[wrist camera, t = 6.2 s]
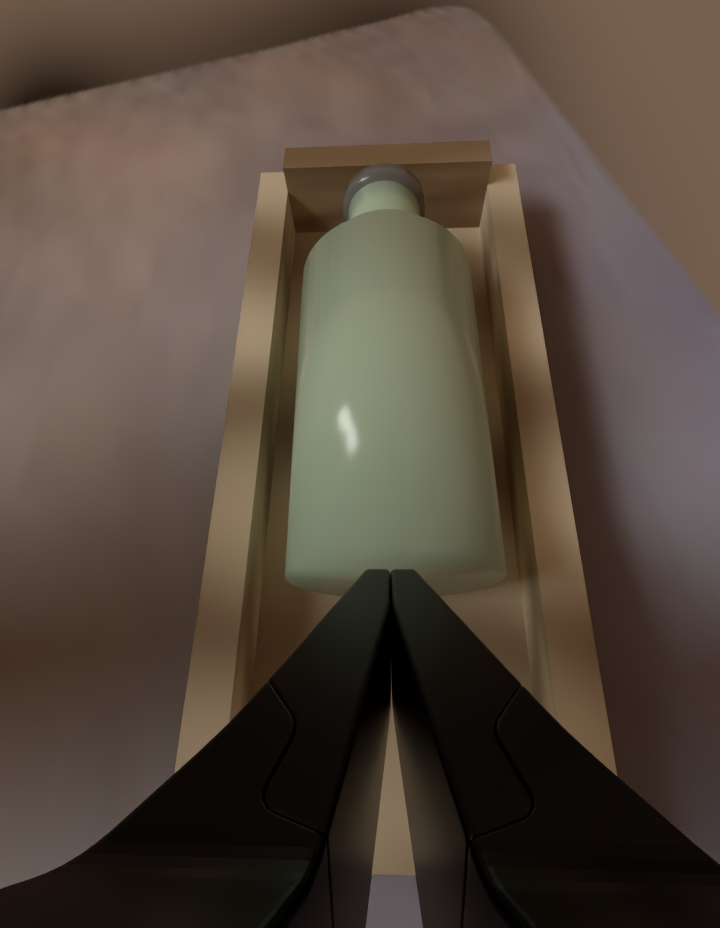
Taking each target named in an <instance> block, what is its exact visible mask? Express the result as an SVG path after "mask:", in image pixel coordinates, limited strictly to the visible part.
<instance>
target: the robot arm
mask: <svg viewBox="0 0 720 928" xmlns="http://www.w3.org/2000/svg"><path fill="white" fill-rule="evenodd" d="M391 690H392V708H393V717H394V725H395V732H396V739H397V746H398V753H399V760H400V767H401V774H402V781H403V789H404V796H405V803H406V810H407V817H408V824H409V831H410V838H411V845H412V852H413V860H414V867H415V874H416V881H417V888H418V895H419V902H420V909H421V916H422V924H423V928H720V864H719V863H717V862H716V861H715V860H714V859H712V858H711V857H710V856H709V855H707V854H706V853H705V852H704V851H703V850H701V849H700V848H699V847H698V846H697V845H695V844H694V843H693V842H692V841H691V840H690V839H688V838H687V837H686V836H685V835H684V834H683V833H682V832H680V831H679V830H678V829H677V828H676V827H675V826H674V825H672V824H671V823H670V822H669V821H668V820H667V819H666V818H664V817H663V816H662V815H661V814H660V813H659V812H658V811H656V810H655V809H654V808H653V807H652V806H651V805H650V804H648V803H647V802H646V801H645V800H644V799H643V798H642V797H640V796H639V795H638V794H637V793H636V792H635V791H634V790H632V789H631V788H630V787H629V786H628V785H627V784H626V783H624V782H623V781H622V780H621V779H620V778H619V777H618V776H616V775H615V774H614V773H613V772H612V771H611V770H610V769H608V768H607V767H606V766H605V765H604V764H603V763H602V762H600V761H599V760H598V759H597V758H596V757H595V756H594V755H593V754H592V753H591V752H589V751H588V750H587V749H586V748H585V747H584V746H583V745H582V744H581V743H580V742H579V741H577V740H576V739H575V738H574V737H573V736H572V735H571V734H570V733H569V732H568V731H567V730H566V729H565V728H564V727H563V726H562V725H561V724H560V723H559V722H558V721H557V720H556V719H555V718H554V717H553V716H552V715H551V714H550V713H549V712H548V711H547V710H546V709H545V708H544V707H543V706H542V705H541V704H540V703H539V702H538V701H537V700H536V699H535V698H534V697H533V696H532V694H531V693H530V692H529V691H528V690H527V689H526V688H525V687H523V686H521V683H520V682H519V681H518V680H517V679H516V678H515V677H514V676H513V674H512V673H511V672H510V671H509V670H508V669H507V668H506V667H505V666H504V665H503V664H502V663H501V662H500V660H499V659H498V658H497V657H496V656H495V655H494V654H493V653H492V652H491V651H490V650H489V649H488V648H487V647H486V645H485V644H484V643H483V642H482V641H481V640H480V639H479V638H478V637H477V636H476V635H475V634H474V633H473V631H472V630H471V629H470V628H469V627H468V626H467V625H466V624H465V623H464V622H463V621H462V620H461V619H460V618H459V616H458V615H457V614H456V613H455V612H454V611H453V610H452V609H451V608H450V607H449V606H448V605H447V604H446V603H445V601H444V600H443V599H442V598H441V597H440V596H439V595H438V594H437V593H436V592H435V591H434V590H433V589H432V587H431V586H430V585H429V584H428V583H427V582H426V581H425V580H424V579H423V578H422V577H421V576H420V575H419V574H418V572H417V571H415V570H414V569H393V570H392V571H391V573H390V572H389V570H387V569H367V570H365V571H364V572H363V573H362V574H361V575H360V577H359V578H358V579H357V580H356V581H355V582H354V583H353V585H352V586H351V587H350V588H349V589H348V590H347V591H346V592H345V594H344V595H343V596H342V597H341V598H340V599H339V600H338V602H337V603H336V604H335V605H334V606H333V607H332V608H331V609H330V611H329V612H328V613H327V614H326V615H325V616H324V617H323V619H322V620H321V621H320V622H319V623H318V624H317V625H316V626H315V628H314V629H313V630H312V631H311V632H310V633H309V634H308V636H307V637H306V638H305V639H304V640H303V641H302V642H301V643H300V645H299V646H298V647H297V648H296V649H295V650H294V651H293V653H292V654H291V655H290V656H289V657H288V658H287V659H286V660H285V662H284V663H283V664H282V665H281V666H280V667H279V668H278V669H277V671H276V672H275V673H274V674H273V675H272V676H271V677H270V679H269V680H268V682H267V683H265V684H264V685H263V686H262V687H261V688H260V690H259V691H258V692H257V693H256V694H255V695H254V696H253V697H252V699H251V700H250V701H249V702H248V703H247V704H246V705H245V706H244V707H243V708H242V709H241V710H240V711H239V712H238V714H237V715H236V716H235V717H234V718H233V719H232V720H231V721H230V722H229V723H228V724H227V725H226V726H225V727H224V728H223V729H222V730H221V731H220V732H219V733H218V734H217V735H216V736H214V737H213V738H212V739H211V740H210V741H209V742H208V743H207V744H206V745H205V746H204V747H203V748H202V749H201V750H200V751H199V752H198V753H197V754H195V755H194V756H193V757H192V758H191V759H190V760H189V761H188V762H187V763H186V764H184V765H183V766H182V767H181V768H180V769H179V770H178V771H177V772H176V773H175V774H173V775H172V776H171V777H170V778H169V779H168V780H167V781H166V782H165V783H163V784H162V785H161V786H160V787H159V788H158V789H157V790H156V791H155V792H154V793H152V794H151V795H150V796H149V797H148V798H147V799H146V800H145V801H144V802H142V803H141V804H140V805H139V806H138V807H137V808H136V809H135V810H134V811H133V812H131V813H130V814H129V815H128V816H127V817H126V818H125V819H124V820H123V821H121V822H120V823H119V824H118V825H117V826H116V827H115V828H114V829H112V830H111V831H110V832H109V833H108V834H107V835H105V836H104V837H103V838H102V839H101V840H99V841H98V842H97V843H96V844H94V845H93V846H91V847H90V848H89V849H87V850H86V851H85V852H83V853H82V854H80V855H79V856H77V857H75V858H74V859H72V860H71V861H69V862H67V863H66V864H64V865H62V866H60V867H58V868H56V869H54V870H52V871H50V872H47V873H45V874H42V875H40V876H37V877H35V878H32V879H29V880H26V881H23V882H20V883H17V884H14V885H10V886H7V887H4V888H1V889H0V928H365V927H366V919H367V910H368V902H369V893H370V884H371V876H372V867H373V858H374V850H375V841H376V833H377V824H378V815H379V807H380V798H381V790H382V781H383V772H384V764H385V755H386V746H387V738H388V729H389V721H390V709H391Z"/></svg>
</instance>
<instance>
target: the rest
mask: <svg viewBox="0 0 720 928" xmlns="http://www.w3.org/2000/svg"><path fill="white" fill-rule="evenodd" d="M383 163H388V164H395V165H399V166H402V167H404V168H406V169H408V170H409V171H411V172H412V173H413V174H414V175H415V176H416V177H417V178H418V180H419V181H420V183H421V185H422V188H423V191H424V201H425V214H424V218H427V219H429V220H432V221H434V222H436V223H438V224H439V225H441V226H443V227H444V228H446V229H447V230H448V231H450V232H451V233H452V234H453V235H454V236H455V237H456V238H457V239H458V240H459V242H460V243H461V245H462V246H463V248H464V249H465V252H466V254H467V257H468V260H469V265H470V272H471V281H472V289H473V297H474V305H475V313H476V322H477V330H478V338H479V346H480V355H481V363H482V371H483V379H484V387H485V396H486V404H487V412H488V420H489V429H490V437H491V445H492V453H493V462H494V470H495V478H496V486H497V494H498V503H499V511H500V519H501V527H502V536H503V544H504V552H505V560H506V568H507V575H506V577H505V578H504V579H503V580H501V581H500V582H498V583H496V584H494V585H491V586H488V587H485V588H482V589H478V590H474V591H469V592H464V593H458V594H451V595H443V596H440V597H441V598H442V599H443V600H444V601H445V603H446V604H447V605H448V606H449V607H450V608H451V609H452V610H453V611H454V612H455V613H456V614H457V615H458V616H459V618H460V619H461V620H462V621H463V622H464V623H465V624H466V625H467V626H468V627H469V628H470V629H471V630H472V631H473V633H474V634H475V635H476V636H477V637H478V638H479V639H480V640H481V641H482V642H483V643H484V644H485V645H486V647H487V648H488V649H489V650H490V651H491V652H492V653H493V654H494V655H495V656H496V657H497V658H498V659H499V660H500V662H501V663H502V664H503V665H504V666H505V667H506V668H507V669H508V670H509V671H510V672H511V673H512V674H513V676H514V677H515V678H516V679H517V680H518V681H519V682H520V683H521V686H523V687H525V688H526V689H527V690H528V691H529V692H530V693H531V694H532V696H533V697H534V698H535V699H536V700H537V701H538V702H539V703H540V704H541V705H542V706H543V707H544V708H545V709H546V710H547V711H548V712H549V713H550V714H551V715H552V716H553V717H554V718H555V719H556V720H557V721H558V722H559V723H560V724H561V725H562V726H563V727H564V728H565V729H566V730H567V731H568V732H569V733H570V734H571V735H572V736H573V737H574V738H575V739H576V740H577V741H579V742H580V743H581V744H582V745H583V746H584V747H585V748H586V749H587V750H588V751H589V752H591V753H592V754H593V755H594V756H595V757H596V758H597V759H598V760H599V761H600V762H602V763H603V764H604V765H605V766H606V767H607V768H608V769H610V770H611V771H612V772H613V773H614V774H615V775H616V776H617V771H616V765H615V759H614V753H613V747H612V741H611V735H610V729H609V723H608V717H607V711H606V705H605V699H604V693H603V687H602V681H601V675H600V669H599V663H598V657H597V651H596V645H595V639H594V634H593V628H592V622H591V616H590V610H589V604H588V598H587V592H586V586H585V580H584V574H583V568H582V562H581V556H580V550H579V544H578V538H577V532H576V526H575V520H574V514H573V508H572V502H571V496H570V490H569V484H568V478H567V472H566V466H565V460H564V454H563V449H562V443H561V437H560V431H559V425H558V419H557V413H556V407H555V401H554V395H553V389H552V383H551V377H550V371H549V365H548V359H547V353H546V347H545V341H544V335H543V329H542V323H541V317H540V311H539V305H538V299H537V293H536V287H535V281H534V275H533V269H532V263H531V258H530V252H529V246H528V240H527V234H526V228H525V222H524V216H523V210H522V204H521V198H520V192H519V186H518V180H517V174H516V168H515V164H497V165H491V164H492V156H491V149H490V142H489V141H463V142H436V143H410V144H384V145H358V146H331V147H305V148H285V156H284V164H283V171H284V172H273V173H261V178H260V184H259V191H258V198H257V205H256V212H255V219H254V226H253V233H252V240H251V247H250V253H249V260H248V267H247V274H246V281H245V288H244V295H243V302H242V309H241V316H240V322H239V329H238V336H237V343H236V350H235V357H234V364H233V371H232V378H231V385H230V391H229V398H228V405H227V412H226V419H225V426H224V433H223V440H222V447H221V454H220V460H219V467H218V474H217V481H216V488H215V495H214V502H213V509H212V516H211V523H210V529H209V536H208V543H207V550H206V557H205V564H204V571H203V578H202V585H201V591H200V598H199V605H198V612H197V619H196V626H195V633H194V640H193V647H192V654H191V660H190V667H189V674H188V681H187V688H186V695H185V702H184V709H183V716H182V723H181V729H180V736H179V743H178V750H177V757H176V764H175V771H174V774H175V773H176V772H177V771H178V770H179V769H180V768H181V767H182V766H183V765H184V764H186V763H187V762H188V761H189V760H190V759H191V758H192V757H193V756H194V755H195V754H197V753H198V752H199V751H200V750H201V749H202V748H203V747H204V746H205V745H206V744H207V743H208V742H209V741H210V740H211V739H212V738H213V737H214V736H216V735H217V734H218V733H219V732H220V731H221V730H222V729H223V728H224V727H225V726H226V725H227V724H228V723H229V722H230V721H231V720H232V719H233V718H234V717H235V716H236V715H237V714H238V712H239V711H240V710H241V709H242V708H243V707H244V706H245V705H246V704H247V703H248V702H249V701H250V700H251V699H252V697H253V696H254V695H255V694H256V693H257V692H258V691H259V690H260V688H261V687H262V686H263V685H264V684H265V683H267V682H268V680H269V679H270V677H271V676H272V675H273V674H274V673H275V672H276V671H277V669H278V668H279V667H280V666H281V665H282V664H283V663H284V662H285V660H286V659H287V658H288V657H289V656H290V655H291V654H292V653H293V651H294V650H295V649H296V648H297V647H298V646H299V645H300V643H301V642H302V641H303V640H304V639H305V638H306V637H307V636H308V634H309V633H310V632H311V631H312V630H313V629H314V628H315V626H316V625H317V624H318V623H319V622H320V621H321V620H322V619H323V617H324V616H325V615H326V614H327V613H328V612H329V611H330V609H331V608H332V607H333V606H334V605H335V604H336V603H337V602H338V600H339V599H340V598H341V597H342V596H336V595H328V594H322V593H317V592H312V591H308V590H305V589H301V588H299V587H296V586H294V585H292V584H290V583H289V582H288V581H287V580H286V579H285V563H286V547H287V531H288V514H289V498H290V482H291V465H292V449H293V432H294V416H295V400H296V383H297V367H298V351H299V334H300V318H301V301H302V285H303V272H304V266H305V263H306V260H307V257H308V255H309V253H310V251H311V250H312V248H313V247H314V246H315V244H316V243H317V242H318V241H319V240H320V239H321V238H322V237H323V236H324V235H325V234H326V233H328V232H329V231H330V230H331V229H333V228H335V227H336V226H338V225H340V224H342V223H344V222H345V221H344V217H343V197H344V192H345V189H346V187H347V185H348V183H349V182H350V180H351V179H352V178H353V177H354V176H355V175H356V174H357V173H358V172H360V171H361V170H363V169H365V168H367V167H369V166H372V165H376V164H383ZM372 875H399V876H416V874H415V867H414V860H413V852H412V845H411V838H410V831H409V824H408V817H407V810H406V803H405V796H404V789H403V781H402V774H401V767H400V760H399V753H398V746H397V739H396V732H395V725H394V717H393V708H392V690H391V709H390V721H389V729H388V738H387V746H386V755H385V764H384V772H383V781H382V790H381V798H380V807H379V815H378V824H377V833H376V841H375V850H374V858H373V867H372Z"/></svg>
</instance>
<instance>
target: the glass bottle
mask: <svg viewBox="0 0 720 928" xmlns="http://www.w3.org/2000/svg"><path fill="white" fill-rule="evenodd" d="M424 214H425V201H424V191H423V188H422V185H421V183H420V181H419V180H418V178H417V177H416V176H415V175H414V174H413V173H412V172H411V171H409V170H408V169H406V168H404V167H402V166H399V165H395V164H388V163H383V164H376V165H372V166H369V167H367V168H365V169H363V170H361V171H360V172H358V173H357V174H356V175H355V176H354V177H353V178H352V179H351V180H350V182H349V183H348V185H347V187H346V189H345V192H344V197H343V217H344V221H345V222H344V223H342V224H340V225H338V226H336V227H335V228H333V229H331V230H330V231H329V232H328V233H326V234H325V235H324V236H323V237H322V238H321V239H320V240H319V241H318V242H317V243H316V244H315V246H314V247H313V248H312V250H311V251H310V253H309V255H308V257H307V260H306V263H305V266H304V272H303V285H302V301H301V318H300V334H299V351H298V367H297V383H296V400H295V416H294V432H293V449H292V465H291V482H290V498H289V514H288V531H287V547H286V563H285V579H286V580H287V581H288V582H289V583H290V584H292V585H294V586H296V587H299V588H301V589H305V590H308V591H312V592H317V593H322V594H328V595H336V596H343V595H344V594H345V592H346V591H347V590H348V589H349V588H350V587H351V586H352V585H353V583H354V582H355V581H356V580H357V579H358V578H359V577H360V575H361V574H362V573H363V572H364V571H365V570H367V569H387V570H389V572H390V573H391V571H392V570H393V569H414V570H415V571H417V572H418V574H419V575H420V576H421V577H422V578H423V579H424V580H425V581H426V582H427V583H428V584H429V585H430V586H431V587H432V589H433V590H434V591H435V592H436V593H437V594H438V595H439V596H443V595H451V594H458V593H464V592H469V591H474V590H478V589H482V588H485V587H488V586H491V585H494V584H496V583H498V582H500V581H501V580H503V579H504V578H505V577H506V575H507V568H506V560H505V552H504V544H503V536H502V527H501V519H500V511H499V503H498V494H497V486H496V478H495V470H494V462H493V453H492V445H491V437H490V429H489V420H488V412H487V404H486V396H485V387H484V379H483V371H482V363H481V355H480V346H479V338H478V330H477V322H476V313H475V305H474V297H473V289H472V281H471V272H470V265H469V260H468V257H467V254H466V252H465V249H464V248H463V246H462V245H461V243H460V242H459V240H458V239H457V238H456V237H455V236H454V235H453V234H452V233H451V232H450V231H448V230H447V229H446V228H444V227H443V226H441V225H439V224H438V223H436V222H434V221H432V220H429V219H427V218H424Z"/></svg>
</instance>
